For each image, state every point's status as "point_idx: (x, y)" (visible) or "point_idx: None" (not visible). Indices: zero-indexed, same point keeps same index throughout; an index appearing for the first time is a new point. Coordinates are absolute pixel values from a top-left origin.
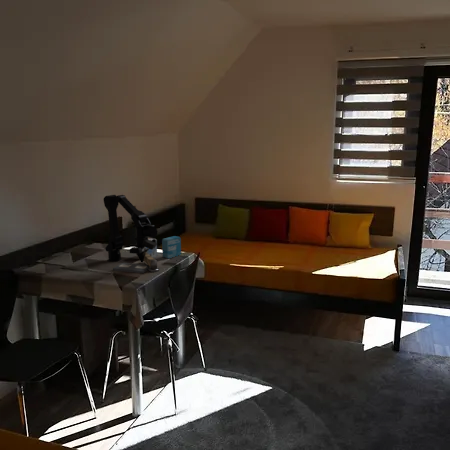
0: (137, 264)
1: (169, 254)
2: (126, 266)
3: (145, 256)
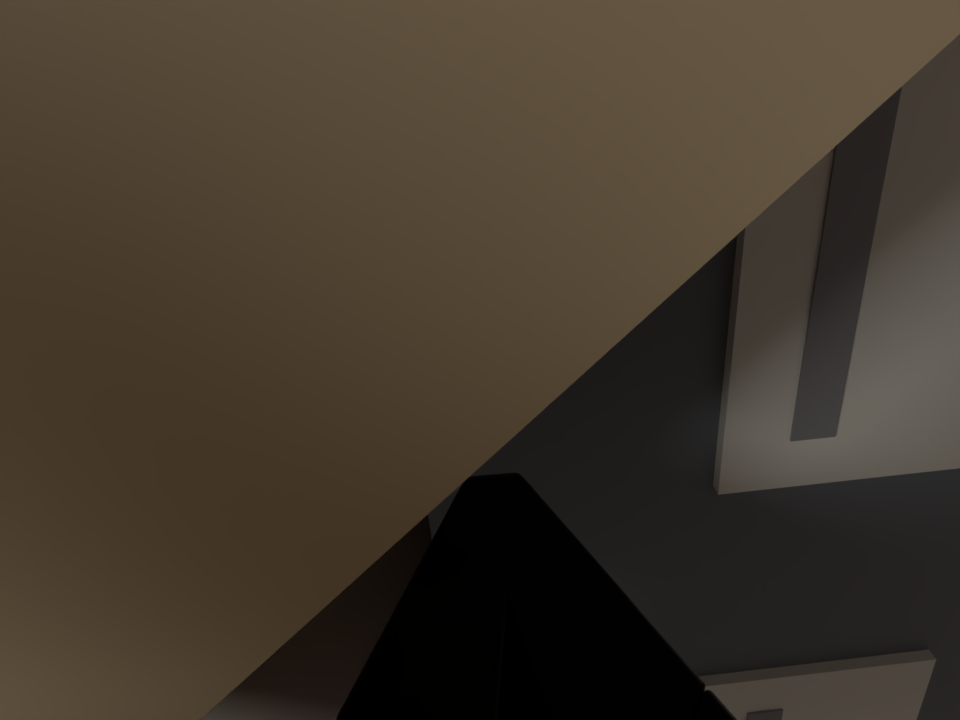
0: None
1: None
2: (878, 718)
3: (242, 675)
